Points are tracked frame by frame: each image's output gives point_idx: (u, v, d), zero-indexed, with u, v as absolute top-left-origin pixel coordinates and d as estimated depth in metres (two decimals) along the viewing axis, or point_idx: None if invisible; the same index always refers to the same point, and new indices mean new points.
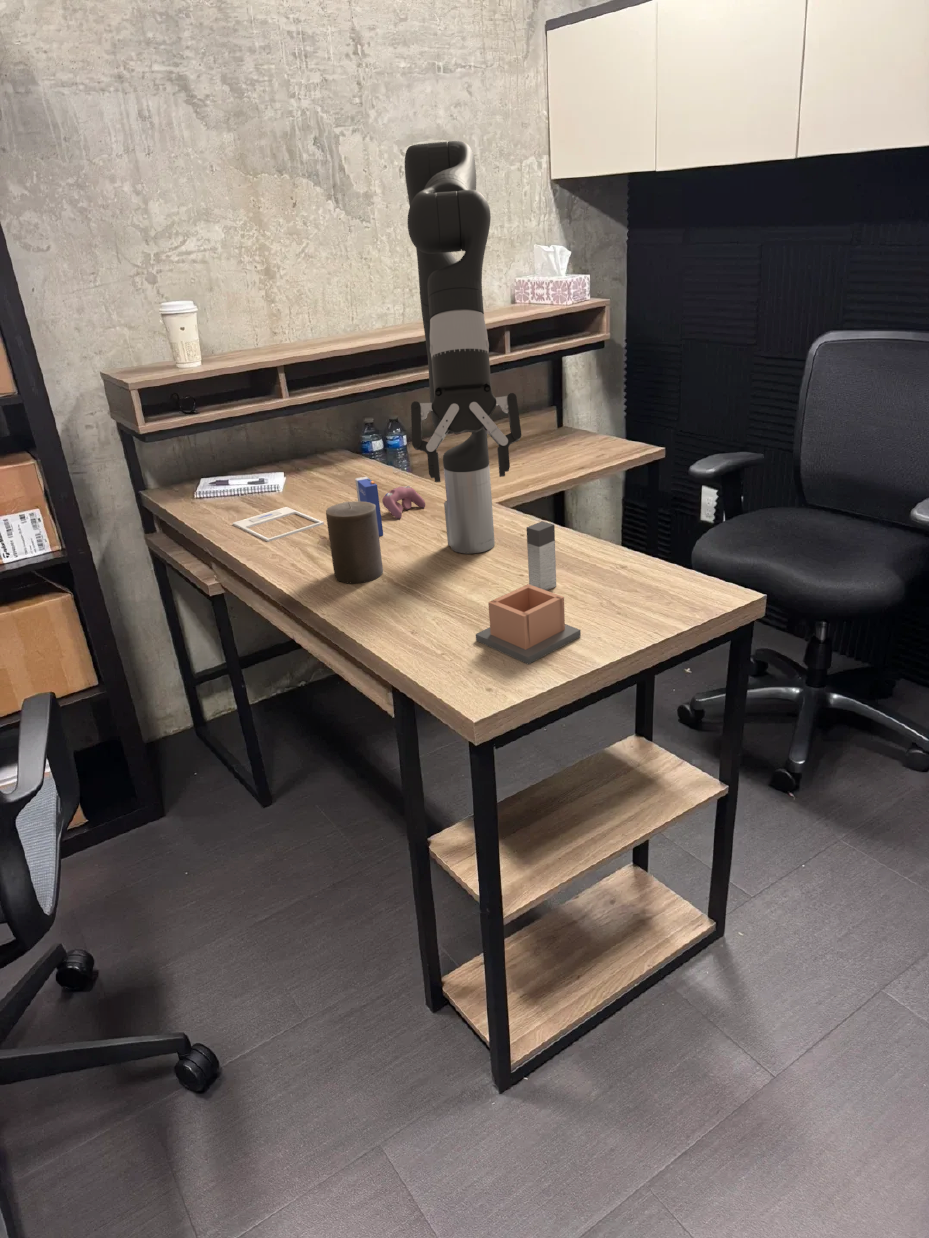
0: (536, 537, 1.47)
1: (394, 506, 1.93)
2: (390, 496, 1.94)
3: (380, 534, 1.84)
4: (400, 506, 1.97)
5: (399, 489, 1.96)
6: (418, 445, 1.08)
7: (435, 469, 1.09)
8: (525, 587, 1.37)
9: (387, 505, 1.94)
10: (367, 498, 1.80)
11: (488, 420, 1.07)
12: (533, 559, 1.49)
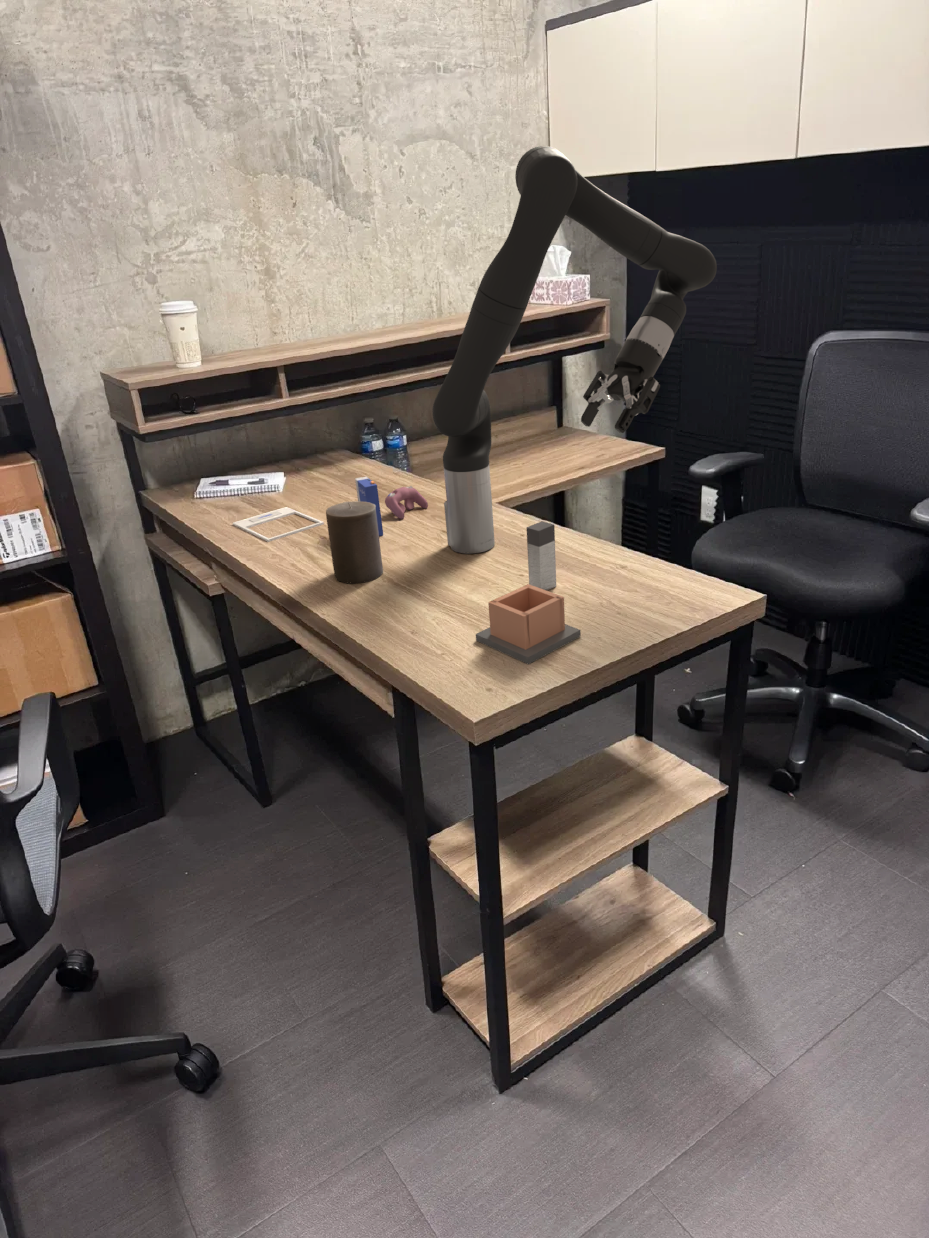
0: (536, 537, 1.47)
1: (397, 506, 1.93)
2: (393, 496, 1.94)
3: (380, 534, 1.84)
4: (403, 506, 1.97)
5: (402, 489, 1.95)
6: None
7: None
8: (525, 587, 1.37)
9: (390, 505, 1.94)
10: (367, 498, 1.80)
11: None
12: (533, 559, 1.49)
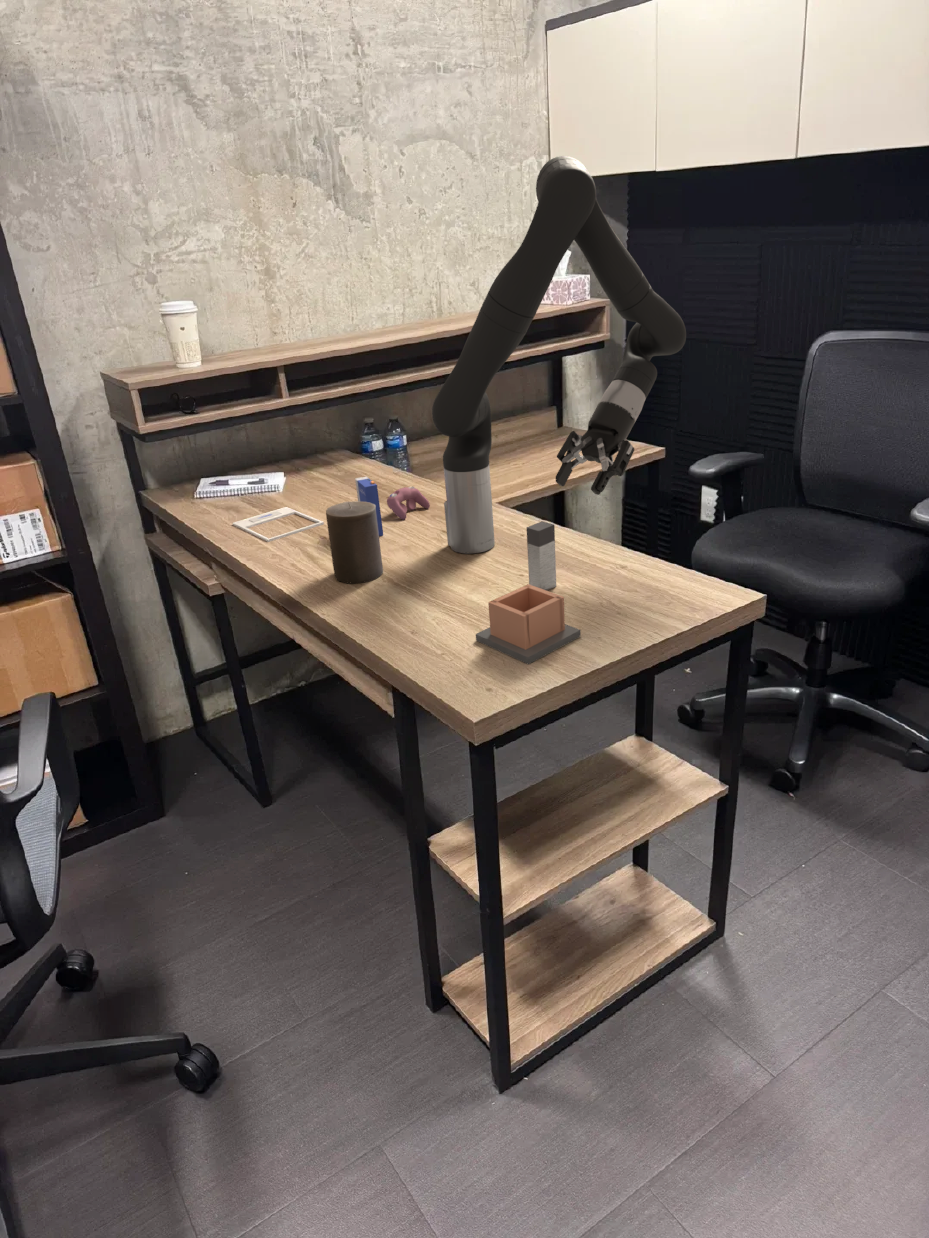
0: (536, 537, 1.47)
1: (399, 507, 1.93)
2: (395, 497, 1.93)
3: (380, 534, 1.84)
4: (404, 507, 1.96)
5: (403, 490, 1.95)
6: None
7: None
8: (525, 587, 1.37)
9: (392, 506, 1.93)
10: (367, 498, 1.80)
11: None
12: (533, 559, 1.49)
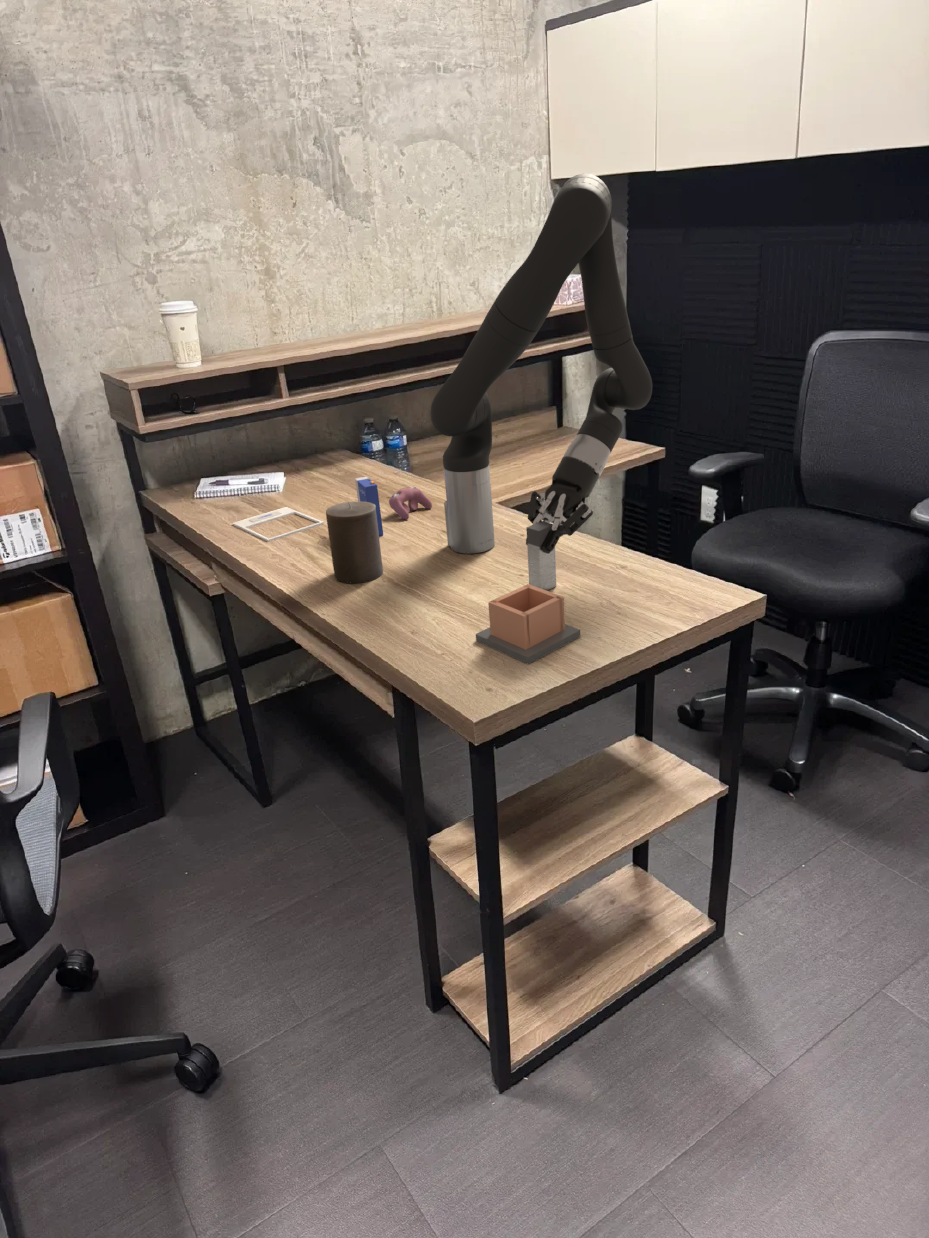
0: (536, 537, 1.47)
1: (401, 507, 1.92)
2: (397, 497, 1.93)
3: (380, 534, 1.84)
4: (407, 507, 1.96)
5: (406, 490, 1.95)
6: None
7: None
8: (525, 587, 1.37)
9: (394, 506, 1.93)
10: (367, 498, 1.80)
11: None
12: (533, 559, 1.49)
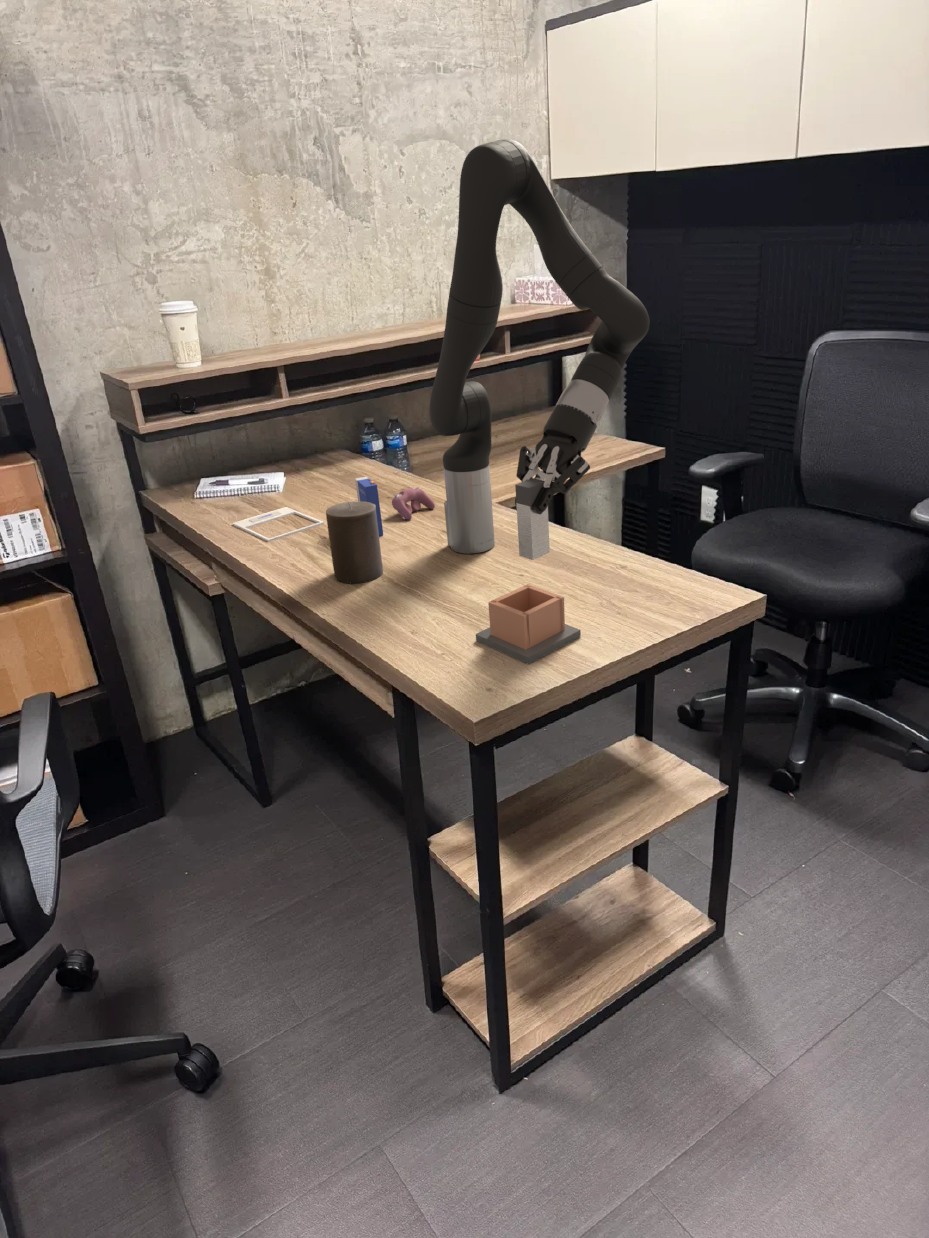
0: (526, 495, 1.29)
1: (404, 507, 1.92)
2: (400, 497, 1.93)
3: (380, 534, 1.84)
4: (409, 507, 1.96)
5: (408, 490, 1.94)
6: None
7: None
8: (525, 587, 1.37)
9: (397, 507, 1.93)
10: (367, 498, 1.80)
11: (545, 471, 1.35)
12: (523, 521, 1.32)
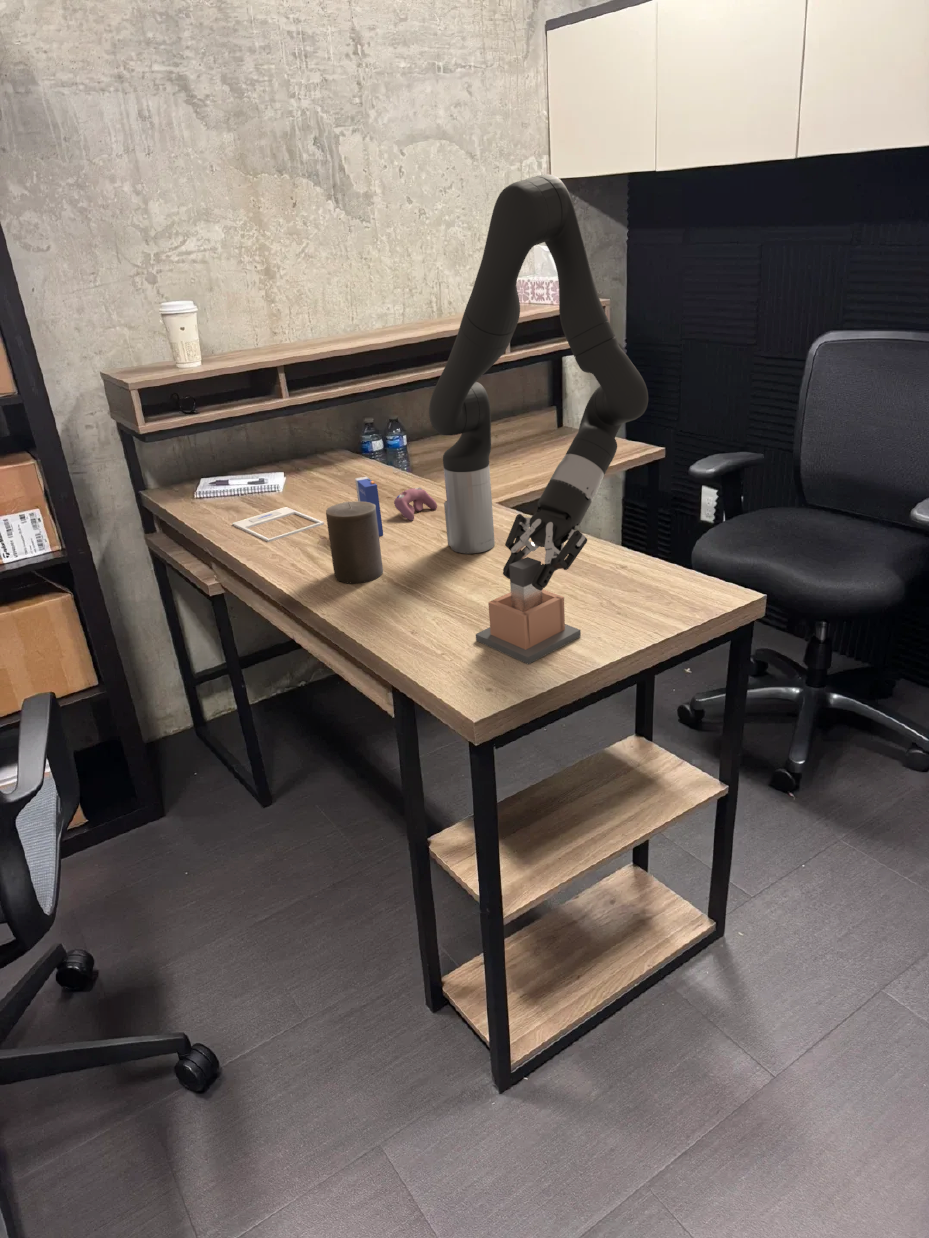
0: (520, 576, 1.29)
1: (406, 508, 1.91)
2: (402, 498, 1.92)
3: (380, 534, 1.84)
4: (412, 508, 1.95)
5: (411, 491, 1.94)
6: None
7: None
8: None
9: (399, 507, 1.92)
10: (367, 498, 1.80)
11: None
12: (517, 600, 1.31)
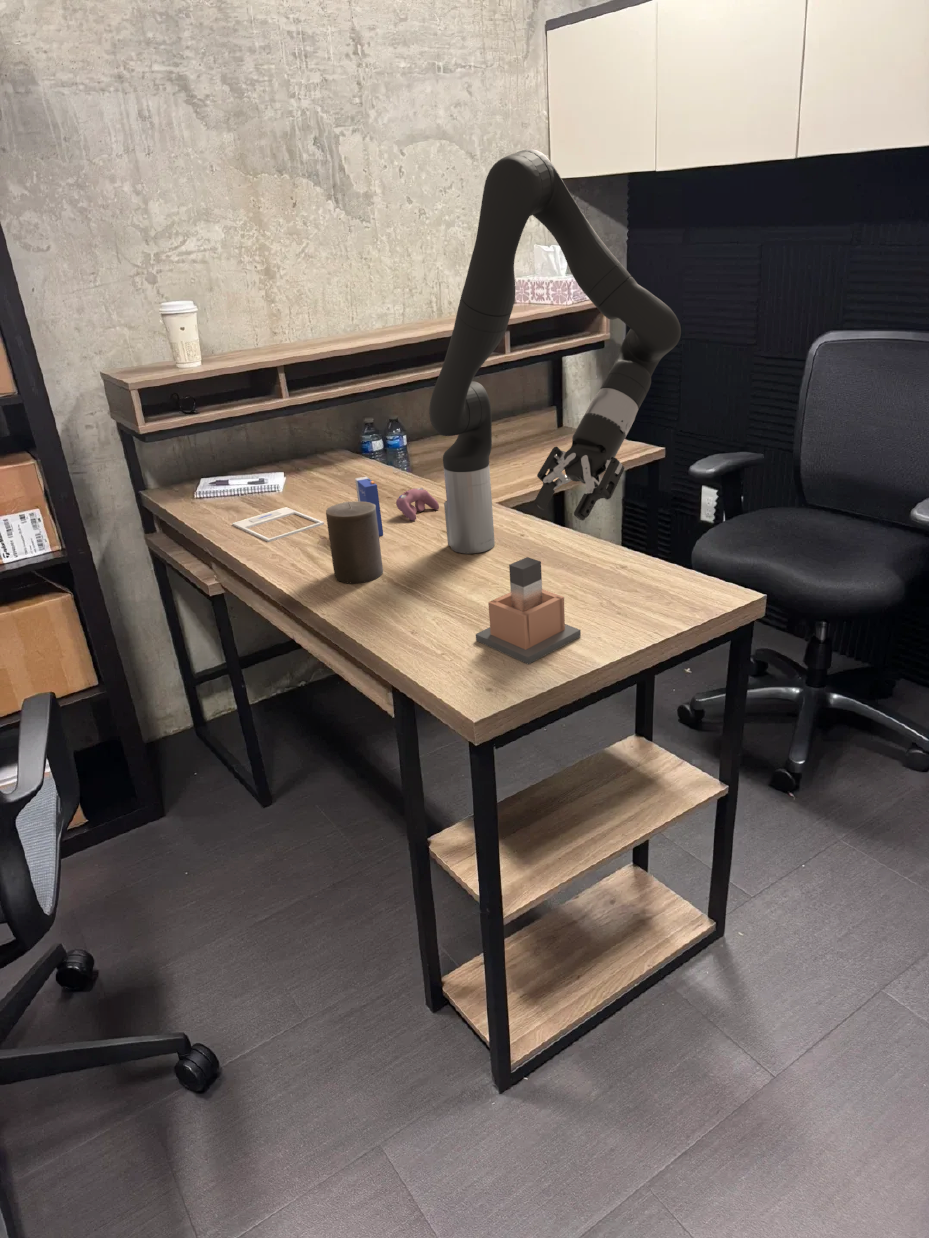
0: (520, 576, 1.29)
1: (408, 508, 1.91)
2: (404, 498, 1.92)
3: (380, 534, 1.84)
4: (414, 508, 1.95)
5: (413, 491, 1.94)
6: None
7: None
8: None
9: (401, 507, 1.92)
10: (367, 498, 1.80)
11: None
12: (517, 600, 1.31)
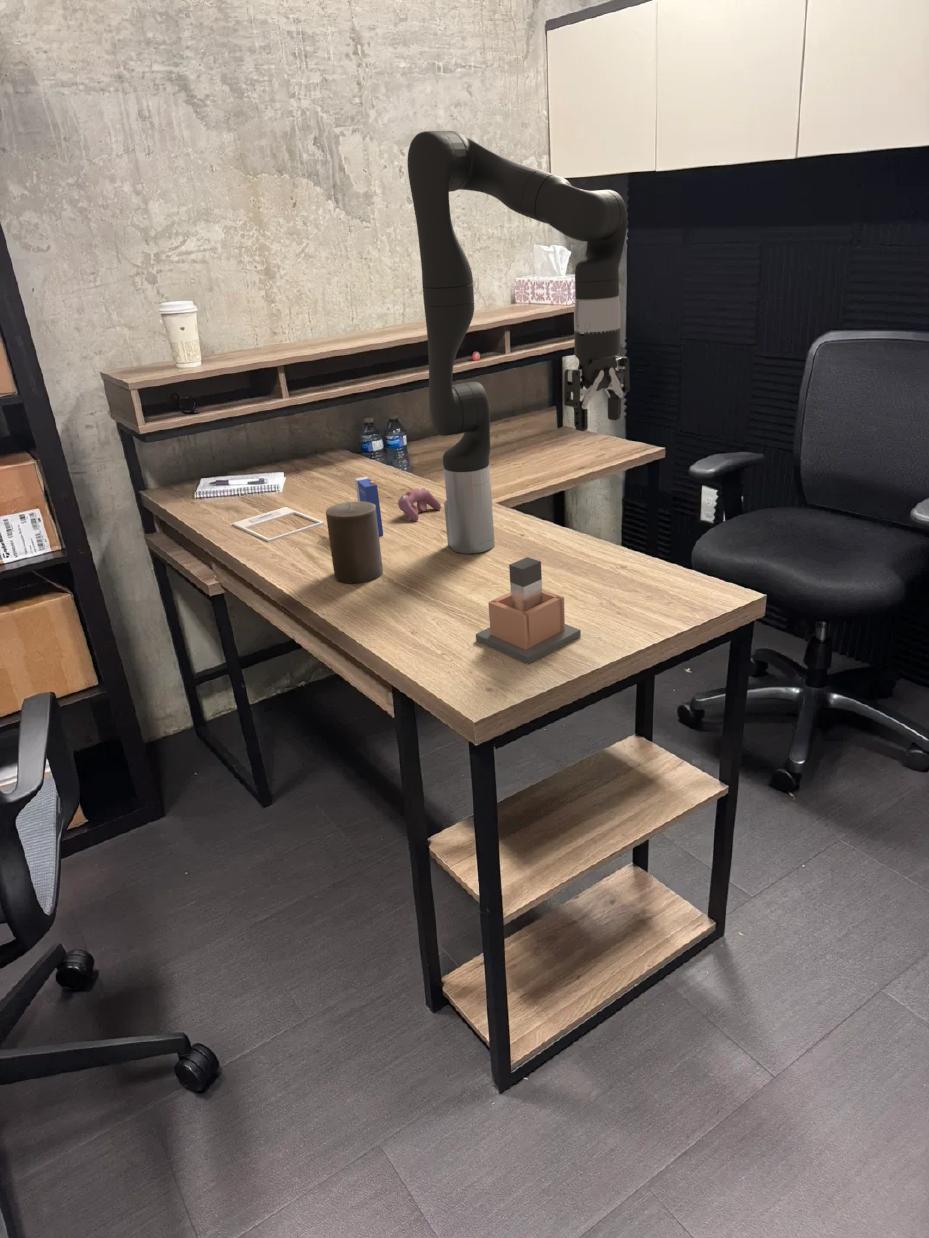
0: (520, 576, 1.29)
1: (410, 509, 1.91)
2: (406, 498, 1.92)
3: (380, 534, 1.84)
4: (416, 508, 1.95)
5: (415, 491, 1.93)
6: (578, 405, 1.38)
7: (585, 422, 1.40)
8: None
9: (403, 508, 1.92)
10: (367, 498, 1.80)
11: (616, 380, 1.41)
12: (517, 600, 1.31)
